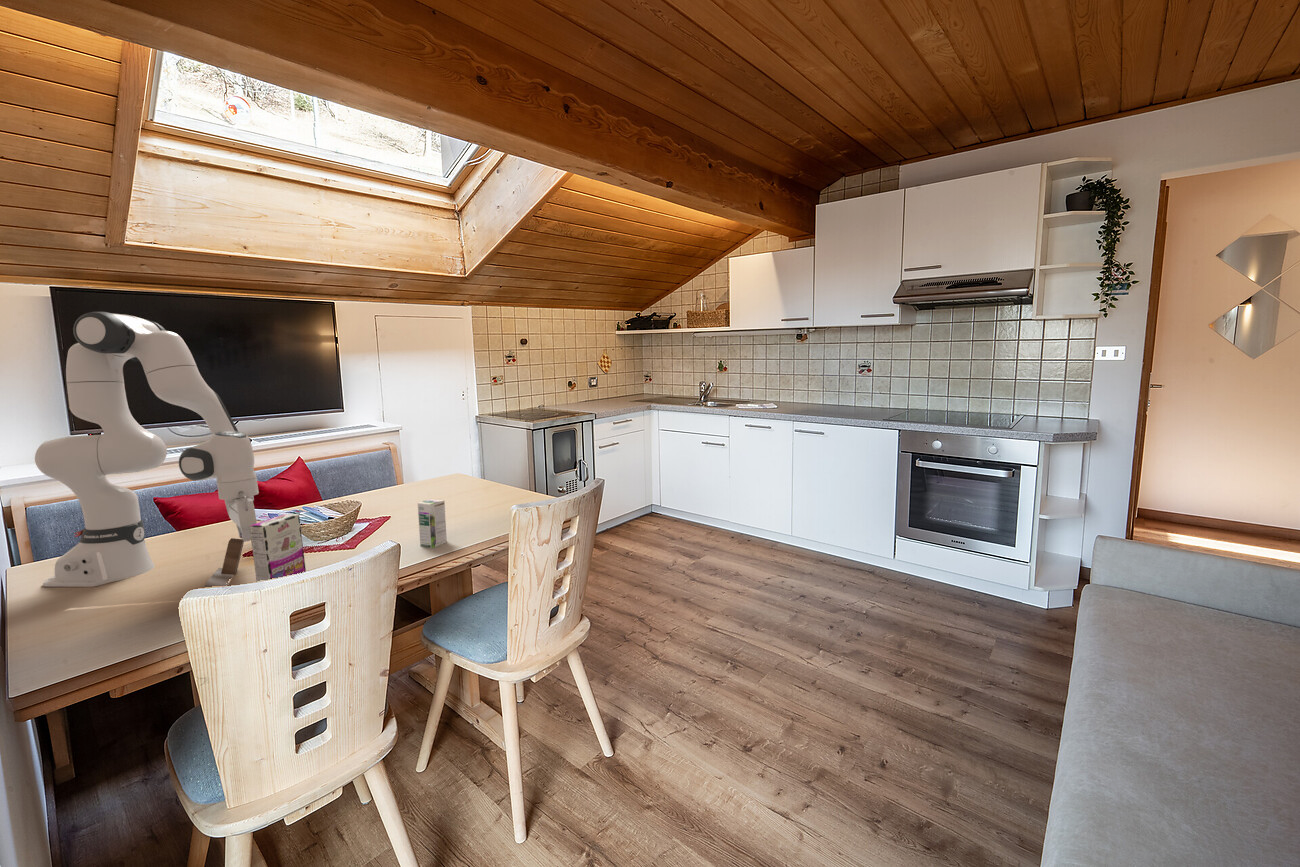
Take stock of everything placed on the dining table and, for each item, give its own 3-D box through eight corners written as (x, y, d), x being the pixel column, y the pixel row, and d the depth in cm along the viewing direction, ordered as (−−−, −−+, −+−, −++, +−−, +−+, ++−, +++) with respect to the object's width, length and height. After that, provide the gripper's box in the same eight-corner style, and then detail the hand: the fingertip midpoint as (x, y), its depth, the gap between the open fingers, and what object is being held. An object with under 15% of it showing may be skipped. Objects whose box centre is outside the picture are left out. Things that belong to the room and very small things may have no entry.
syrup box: (419, 549, 170) (416, 502, 169) (433, 543, 176) (430, 498, 174) (434, 551, 168) (431, 504, 167) (448, 545, 174) (445, 499, 172)
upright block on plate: (217, 571, 154) (226, 536, 154) (243, 573, 156) (252, 538, 156) (203, 588, 141) (212, 550, 141) (232, 590, 144) (241, 553, 144)
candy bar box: (291, 571, 154) (285, 513, 152) (306, 572, 153) (300, 513, 151) (255, 587, 143) (248, 524, 141) (271, 588, 142) (264, 525, 140)
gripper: (259, 492, 148) (266, 542, 149) (246, 484, 163) (252, 530, 164) (230, 496, 144) (237, 548, 145) (219, 488, 158) (225, 535, 160)
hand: (245, 539), depth 155 cm, fingers open, 4 cm apart
